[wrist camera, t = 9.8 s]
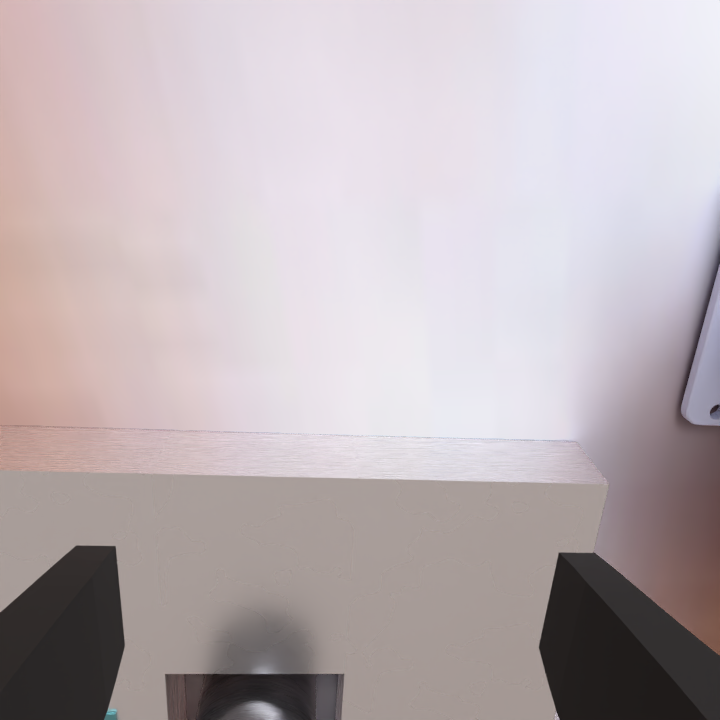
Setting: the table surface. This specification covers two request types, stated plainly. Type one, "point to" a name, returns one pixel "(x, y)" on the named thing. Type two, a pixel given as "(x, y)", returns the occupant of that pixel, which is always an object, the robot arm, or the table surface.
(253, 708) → the cylinder
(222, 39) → the table surface
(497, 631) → the plate
